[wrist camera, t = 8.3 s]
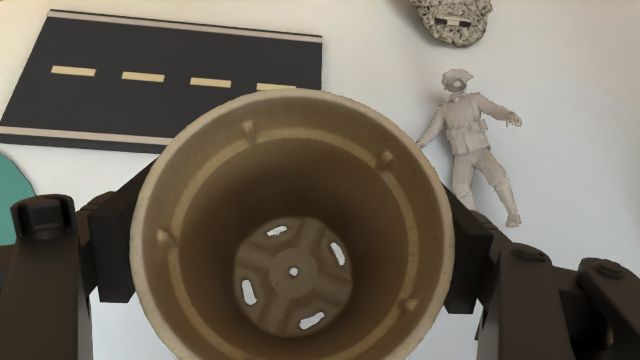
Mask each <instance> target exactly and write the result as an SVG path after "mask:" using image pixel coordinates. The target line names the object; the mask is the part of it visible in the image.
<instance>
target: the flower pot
mask: <svg viewBox="0 0 640 360" xmlns="http://www.w3.org/2000/svg"><path fill="white" fill-rule="evenodd" d="M280 226H286V227H287V230H285V231H283V232H280V233H279V235H278V236H277V234H276V235H275V234H274V235H271V236H268V235H267V232H269V231H270V230H272V229H275V228H277V227H280ZM333 242H335V243H336V244H337V245H338V246H339V247H340V248H341V250H342V253H343V254H344V257H345V263H344V265H340V264H339V262H338V260H337V257H336V255H335V253H334V251H333V249H332V247H331V246H330V244H331V243H333ZM129 245H130V253H129V258H130V264H131V273H132V277H133V282H134V286H135V290H136V293H137V295H138V298H139V301H140V304H141V306H142V308H143V311H144V314H145V315H146V317H147V319H148V321H149V322H150V324H151V326H152V328H153V329H154V331H155V332H156V334H157V335H158V337H159V338H160V339H161V340H162V342H163V343H164V344H165V345H166V346H167V347H168V348H169V350H170V351H171V352H172V353H173V354H174V355H175V356H176V357H177V358H178V359H179V360H404V359H405V358H406V357H407V356H408V355H409V354H410V353H411V352H412V351H413V350H414V349H415V348H416V347H417V346H418V344H419V343H420V342H421V341H422V339H423V338H424V336H425V335H426V333H427V332H428V331H429V329H430V328H431V327H432V325H433V323H434V322H435V320H436V317H437V315H438V314H439V311H440V309H441V308H442V306H443V303H444V300H445V298H446V295H447V293H448V291H449V288H450V282H451V280H452V273H453V266H454V261H455V234H454V226H453V219H452V212H451V208H450V204H449V201H448V197H447V195H446V192H445V189H444V187H443V185H442V184H441V181H440V179H439V177H438V175H437V172H436V171H435V169H434V167H432V165H431V163H430V162H429V160H428V159H427V158H426V157H425V155H424V153H423V152H422V151H421V150H420V148H419V147H418V146H417V145H416V144H415V143H414V141H413V140H412V139H411V138H410V137H409V136H408V135H407V134H406V133H405V132H404V131H402V130H401V129H400V128H399V127H398V126H397V125H396V124H394V123H393V122H392V121H390V120H389V119H388V118H386V117H384V116H383V115H382V114H380V113H378V112H376V111H375V110H373V109H371V108H370V107H367V106H366V105H363V104H361V103H359V102H356V101H354V100H352V99H349V98H346V97H343V96H339V95H336V94H332V93H329V92H324V91H321V90H312V89H302V88H296V89H295V88H282V89H272V90H267V91H258V92H255V93H252V94H247V95H243V96H240V97H239V98H236V99H234V100H232V101H228V102H227V103H225V104H223V105H220V106H218V107H216V108H214V109H212V110H211V111H209V112H207V113H205V114H204V115H202V116H200V117H199V118H198V119H196V120H195V121H194V122H192V123H191V124H189V125H188V126H187V127H186V128H185V129H184V130H182V131H181V132H180V133H179V134H178V135H177V136H176V137H175V138H174V139H173V140H172V141H171V142H170V144H169V145H167V146H166V148H165V150H164V151H163V152H162V153H161V154H160V156H159V157H158V158H157V160H156V161H155V163H154V164H153V166H152V167H151V169H150V171H149V174H148V175H147V177H146V179H145V182H144V184H143V185H142V187H141V190H140V193H139V195H138V199H137V202H136V207H135V210H134V214H133V218H132V223H131V229H130V242H129ZM291 268H296V269H298V274H297V275H296V276H293V275H291V274H290V273H289V271H290V269H291ZM243 280H249V281H250V283H251V286H252V289H253V293H254V296H255V298H256V299H257V301H256V302H255V303H254V304H252V305H249V304H247V303H246V302H245V299H244V295H243V289H242V281H243ZM319 312H323V313H324V315H325V316H324V317H322V318H321V319H320V321H319V322H317V323H316V324H314V325H312V326H310V327H309V328H307V329H301V327H300V326H299V324H300V322H301V320H303V319H305V318H309V317H312V316H314V315H316V314H317V313H319Z"/></svg>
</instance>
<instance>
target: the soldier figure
mask: <svg viewBox="0 0 640 360" xmlns="http://www.w3.org/2000/svg"><path fill="white" fill-rule="evenodd" d="M442 76H443V78H442V84H443V86H444V90H446V89H448V91H450V92H453V93H456V92H458V93H456V94H452V95H450V96H449V99H448V101H447V102H445V103H443V104H441V105H439V106H438V107H439V108H438V110H437V112H436V114H435V117H434V119H433V121H432V123H431V125H430V126H429V128H428V129H427V130H426V131H425V133H424V134H423V135H422V136H421V138H420V139H419V140H418V141H417V142H416V145H417V146H418V147H419V148H423V147H424V146H425V145H426V144H428V143H429V142H430V141H432V140H433V139H434V138H435V137H436V136H437V135H438V134H439V132H440V131H441V130H442V128H443V127H444V126H445V123H446V124H447V127H448V130H446V136H447V141H450V144H451V145H452V154H453V157H454V158H455V159H454V168H453V182H452V189H453V190H454V192H455V194H456V197H457V198H458V199H459V201H460V202H461V203H462V204H463V205H464V206H465V207H466V208H467V209H468V210H475V211H477V212H478V209H477V207H476V204H475V201H474V198H473V196H472V191H471V187H470V185H471V181H472V177H473V172H474V170H475V168H477V169H478V170H479V171H480V172H481V173H482V174H483V175H484V176H485V177H486V179H487V181H488V183H489V185H490V186H491V187H494V191H496V192H497V194H498V196H499V198H500V200H501V201H502V203H503V204H504V205H505V207H506V209H507V212H508V218H507V222H506V224H505V225H506V228H516V227H519V224H520V223H521V221H520V217H519V215H518V213H517V209H516V204H515V201H514V198H513V194H512V190H511V187H510V184H509V180H508V178H506V172H505V170H504V168H503V167H502V166H501V165H500V164H499V163H498V162H497V161H496V159H495V158H494V157H493V155H492V154H491V153H490V152H489V150H490V144H489V143H488V140H487V137H486V135H485V132H486V131H487V130H488V128H487V125H486V122H485V119H482V120H481V112H483V113H484V114H487V115H490V116H492V117H493V118H495V119H497V120H503V121H506V127H508V124H509V123H510V122H511V123H512V125H514V122H515V126H518V127H519V126H520V127H521V126H522V122H521V119H520V117H518V116H517V115H516V114H515V113H514V112H512V111H509V110H507V109H506V108H504V107H503V106H499V105H497V104H495V103H494V102H492V101H490V100H488V99H487V98H485V97H484V96H483V95H481V94H480V93H470V94H467V93H466V92H465V91H462V90H464V89H465V88H466V86H467V84H466V82H467V81H468V80H470V79H472V78H473V76H472V75H471V74H469V73H468V72H467V71H465V70H462V69H453V70H450V71H448V72H446V73H444V74H443V75H442ZM459 91H461V92H459ZM517 122H518V125H517ZM478 213H479V212H478Z"/></svg>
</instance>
